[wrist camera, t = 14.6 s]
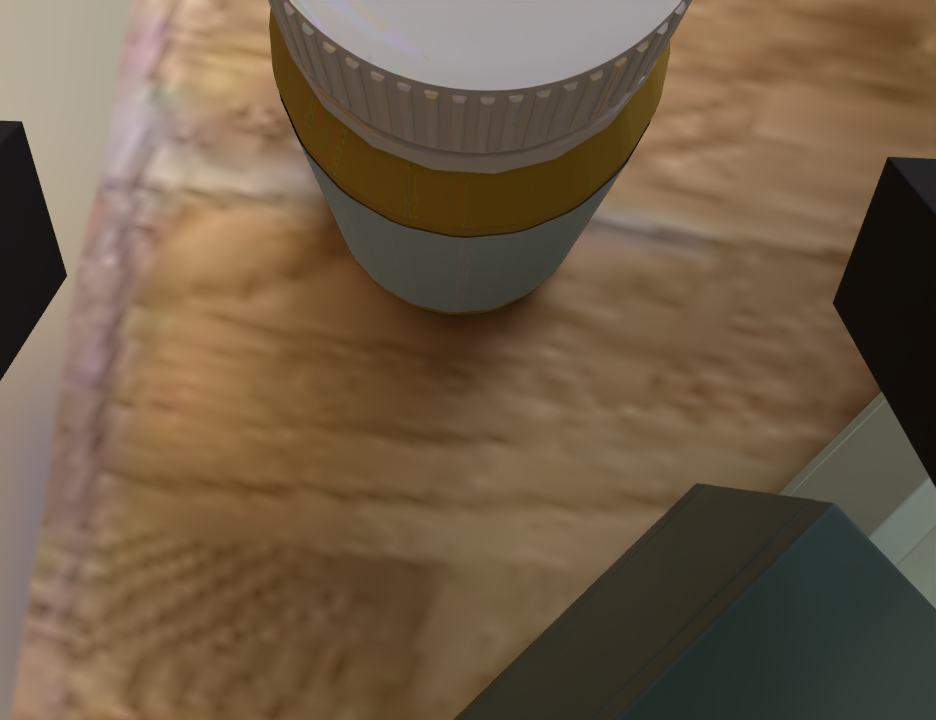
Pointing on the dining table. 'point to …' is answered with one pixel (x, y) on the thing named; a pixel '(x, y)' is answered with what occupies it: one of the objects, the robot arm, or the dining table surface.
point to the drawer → (879, 491)
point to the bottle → (468, 129)
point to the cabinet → (733, 625)
